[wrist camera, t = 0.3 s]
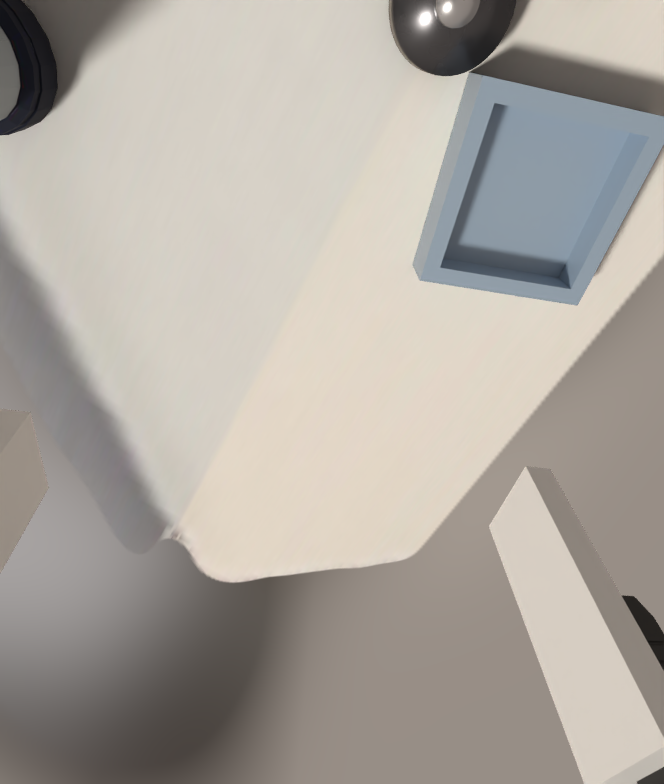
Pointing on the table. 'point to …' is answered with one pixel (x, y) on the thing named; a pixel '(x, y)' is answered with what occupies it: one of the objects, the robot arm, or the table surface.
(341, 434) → the table surface
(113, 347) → the table surface
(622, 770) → the robot arm
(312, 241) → the table surface
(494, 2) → the grey flat rectangular frame
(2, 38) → the humidifier
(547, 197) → the tray
